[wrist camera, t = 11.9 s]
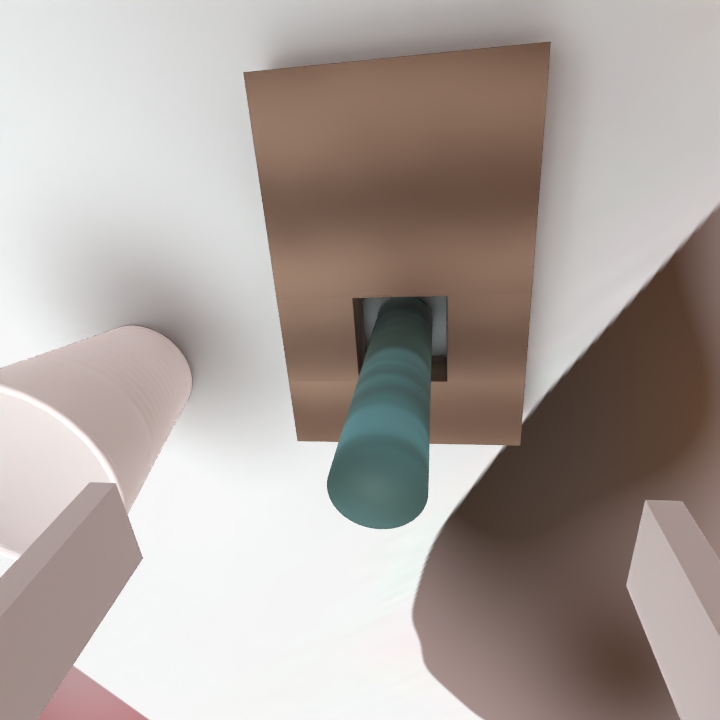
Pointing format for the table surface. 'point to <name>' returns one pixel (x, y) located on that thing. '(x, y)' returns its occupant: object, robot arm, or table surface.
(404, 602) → the table surface
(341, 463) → the peg
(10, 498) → the cup
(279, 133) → the hole plate
